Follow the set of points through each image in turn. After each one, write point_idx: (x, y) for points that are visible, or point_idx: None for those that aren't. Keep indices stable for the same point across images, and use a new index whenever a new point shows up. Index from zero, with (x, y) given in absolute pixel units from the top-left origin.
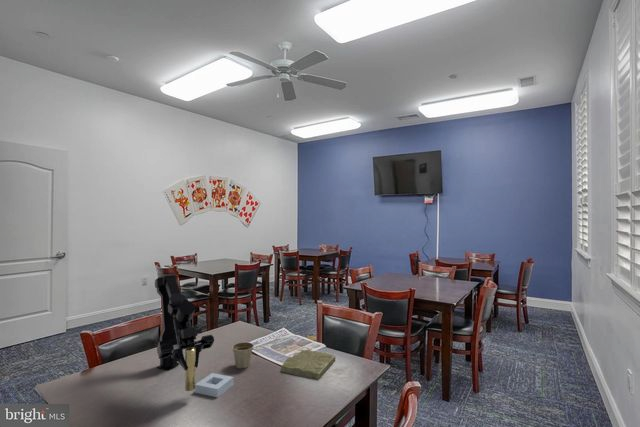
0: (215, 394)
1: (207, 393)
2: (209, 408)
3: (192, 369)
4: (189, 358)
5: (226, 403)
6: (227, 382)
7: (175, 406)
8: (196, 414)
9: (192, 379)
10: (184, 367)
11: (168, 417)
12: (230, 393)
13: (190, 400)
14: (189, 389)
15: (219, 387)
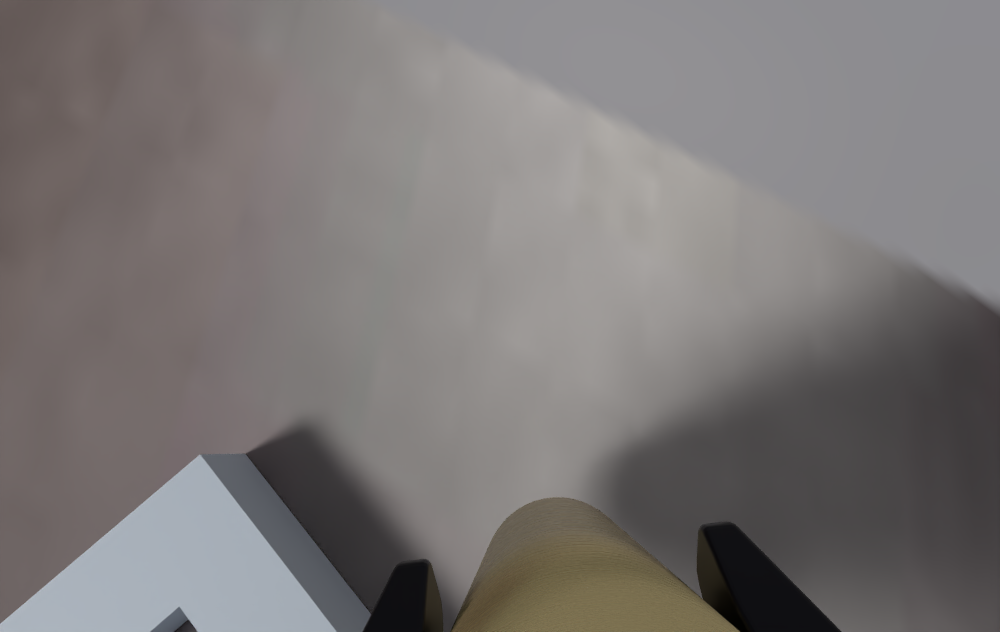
0: (251, 479)
1: (332, 577)
2: (384, 262)
3: (542, 537)
4: (684, 597)
5: (196, 275)
6: (16, 616)
7: (728, 493)
8: (531, 211)
9: (537, 515)
10: (772, 577)
11: (811, 291)
12: (82, 476)
13: None
14: (580, 502)
15: (162, 494)
